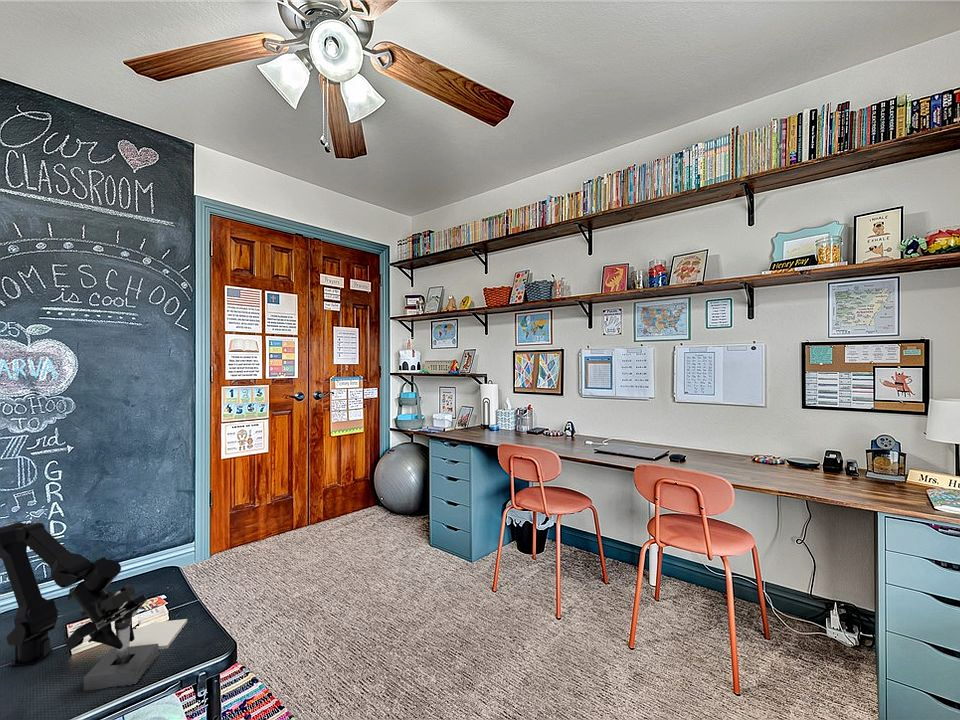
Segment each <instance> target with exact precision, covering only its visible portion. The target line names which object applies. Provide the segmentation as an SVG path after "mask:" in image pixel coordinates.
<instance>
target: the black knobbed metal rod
mask: <svg viewBox="0 0 960 720" xmlns="http://www.w3.org/2000/svg"><path fill="white" fill-rule="evenodd" d="M130 625H131V617H129V616H127V617H122V618H119V619H117V620H116V621H115V620H114V626H115V627H114V630H115V635H116V636H117V637H118V639H119V640H120V642H121V643H122V645H123V647H122V648H121V649H117V648H116V665H120V664H128V662H129V661H130Z"/></svg>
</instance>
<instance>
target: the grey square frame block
mask: <svg viewBox="0 0 960 720" xmlns="http://www.w3.org/2000/svg"><path fill="white" fill-rule="evenodd" d="M158 657H159V650H158V644H149V645H140V646H131V647H130V661H129V662H128V664H120V665H116V648H114V647H113V648H111V649H110V650H109V651H107V652H106V654H104V655H103V657H102V658H101V659H100V660H99V661H98V662H97V663H96V664H95V665H93V667H92V668H91V669H90V670H89V671H88V672H87V673H86V675H84V677H83V692H88V691H96V690H103V688H105V689H109V688H108V687H113V686H114V687H113V688H118V687H117V686H121V687H126V685H129V686H133V685H132V684H136V683H137V682H138V681H139V682H140V680H141V679H142V678H141V676H142V675H143V674H144V673H145V674H146V672H147V671H148V670H149V669H148V668H150V667H151V666H152V665H151V664H154V662H155V661H156V660H157V658H158ZM154 660H155V661H154ZM150 665H151V666H150ZM149 666H150V667H149ZM147 669H148V670H147ZM146 670H147V671H146ZM145 671H146V672H145ZM145 674H144V675H145ZM144 675H143V676H144ZM143 676H142V677H143ZM140 678H141V679H140ZM139 679H140V680H139ZM137 684H138V683H137ZM137 684H136V685H137Z"/></svg>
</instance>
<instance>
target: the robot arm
mask: <svg viewBox="0 0 960 720" xmlns="http://www.w3.org/2000/svg"><path fill="white" fill-rule="evenodd" d="M28 548H29V549H31V550H32V551H33V553H35V554H36V555H37V556H38V557H39V558H40V559H41V560H42V561H43V562H44V563H45V564H46V565H47V566H48V567H49V568H50V577H51V578H52V580H53V581H54V583H55V584H56V586H58V587H59V588H62V589H63V588H69V587H70V588H69V591H68V594H67V600H68V601H69V600H72V599H75V600H76V602H77V604H78V605H79V607H81V609H82V610H83V611H82V612H81V613H80V614H81V616H82V617H85V616H87V617H88V618H89V620H90V621H88V622H87V623H84V624H83V625H81V626H79V627H78V628H76V629H75V630H74V631H73V632H72V633H71V634H70V635H69V637H67V639H66V642H65V643H66V647H67V648H68V649H69V650H70V651H72V650H73V649H75V648H77V647H78V646H80V645H82V644H83V642H84V639H85V638H86V637H87V636H89V637H90V638H89V640H88V641H87V642H88V643H92V642H95V643H97V644H103V645H105V646H109V647H111V648H113V649H114V648H117V649H121V648H122V647H123V645H122V643H121V642H120V640H119V639H118V637H117V636H116V632H114V631H113V628H112V622H113V621H114V622H115V621H116V620H117V619H119V618H122V617H127V616H129V617H131V625H130V641H131V642H132V641H133V640H134V639H135V638H134V633H133V630H134V628H132V614H133V613H135V612H136V611H137V612H138V611H139V609H141V607H143V605H144V604H145V603H146V602H147V601H148V599H147V596H146V595H145V594H139V593H138V595H136V590H135V588H134V587H133V585H132V584H126V585H125V586H123V587H121V588H120V590H119V591H120V593H118V594H116V595H115V593H113V592H112V591H109V592H108V593H107V591H106V590H105V589H106V588H108V587H109V585H110V584H111V583H112V582H113V581H114V579H116V577H118V575H119V574H120V573H121V571H122V566H121V564H120V563H119V562H117V561H116V560H113V559H107V558H106V557H105V556H103V557H100V558H98V559H96V560H95V562H94V561H91V560H89V558H86V557H85V556H84V555H82V554H79V553H72V552H71V551H70V550H68V549H67V548H66V546H64V545H63V544H61V542H59V541H58V540H57V539H56V538H55V536H53V535H52V534H51V533H50V532H49V531H47V530H46V526H45V524H43V522H28V523H25V522H22V521H16V522H13V523H10V524H7V525H4V526H0V559H1V560H2V562H3V565H4V569H5V571H6V574H7V577H8V580H9V584H10V586H11V588H12V592H13V594H14V597H15V600H16V604H17V607H18V608H17V612H16V614H15V616H14V620H13V621H14V628H13V629H12V631H10V633H9V634H8V635H7V636H6V641H7V644H8V645H9V646H14V660H13V662H11V663H10V665H9V666H10V667H17V666H26V665H34V664H38V663H39V662H40V661H41V660H43V658H45V657H46V656H47V655H49V654H50V653H51V652H52V651H53V647H51V638H50V637H49V632H50V631H52V630H55V629H56V625H57V621H58V619H59V613H58V612H59V610H58V609H57V606H56V603H55V600H54V599H49V600H48V599H46V598H44V597H43V595H42V593H41V590H40V587H39V583H38V581H37V577H36V575H35V572H34V569H33V567H32V563H31V561H30V557H29V555H28V552H27V549H28ZM75 584H77V585H75ZM73 585H75V586H73ZM71 586H73V587H72V588H71ZM133 595H135V596H133ZM132 596H133V597H132ZM127 601H128V602H127ZM126 602H127V603H126ZM124 603H126V604H125V605H124V606H123V607H122V605H123V604H124ZM120 607H122V608H121V609H119V608H120ZM113 627H114V628H115V625H114V626H113Z"/></svg>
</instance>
